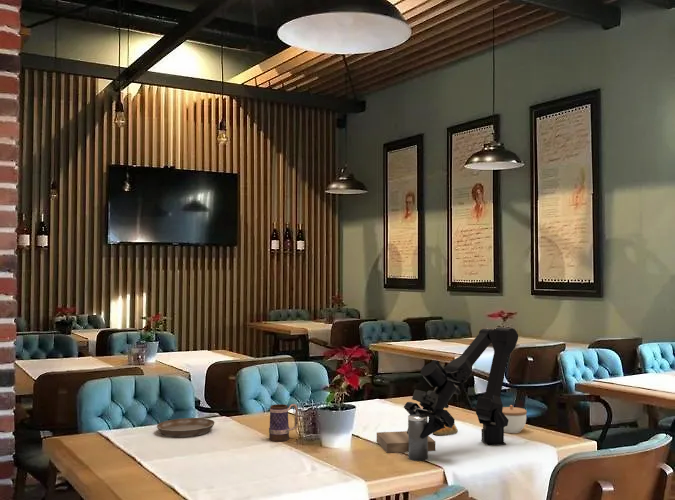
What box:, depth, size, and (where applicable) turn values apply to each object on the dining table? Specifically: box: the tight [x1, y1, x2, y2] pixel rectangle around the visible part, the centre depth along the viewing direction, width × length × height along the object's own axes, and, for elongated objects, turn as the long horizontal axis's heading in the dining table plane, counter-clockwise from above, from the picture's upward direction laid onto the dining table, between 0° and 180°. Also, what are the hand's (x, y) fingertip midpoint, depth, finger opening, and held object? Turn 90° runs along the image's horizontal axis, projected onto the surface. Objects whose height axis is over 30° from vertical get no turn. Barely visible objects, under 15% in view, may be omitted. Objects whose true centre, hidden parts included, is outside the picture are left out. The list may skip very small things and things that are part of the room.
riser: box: [376, 430, 436, 454], centre depth 246 cm, size 16×16×3 cm
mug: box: [268, 403, 299, 443], centre depth 256 cm, size 10×7×12 cm
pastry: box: [432, 423, 459, 437], centre depth 264 cm, size 9×7×4 cm
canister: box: [407, 414, 429, 462], centre depth 230 cm, size 6×6×13 cm
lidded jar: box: [502, 404, 528, 434], centre depth 267 cm, size 11×11×9 cm
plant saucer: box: [156, 417, 216, 438], centre depth 269 cm, size 21×21×3 cm
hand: (414, 435), depth 229 cm, fingers closed on canister, 6 cm apart
